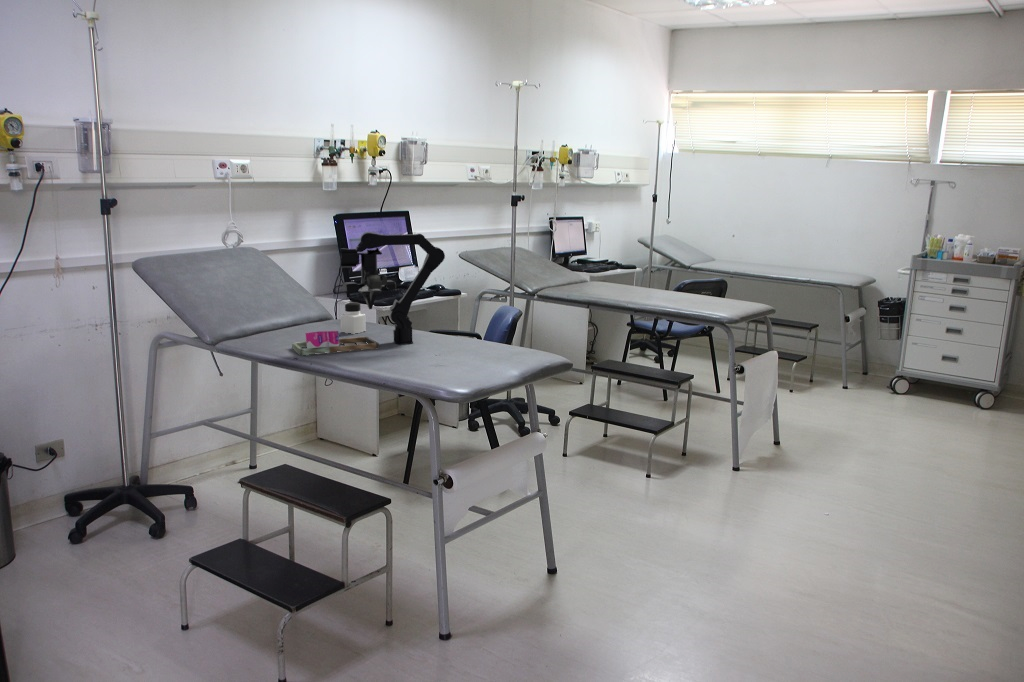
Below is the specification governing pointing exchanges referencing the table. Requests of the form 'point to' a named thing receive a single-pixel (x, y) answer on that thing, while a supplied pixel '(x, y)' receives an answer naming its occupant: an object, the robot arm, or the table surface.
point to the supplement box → (322, 339)
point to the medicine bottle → (352, 319)
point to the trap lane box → (346, 341)
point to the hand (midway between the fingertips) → (370, 309)
